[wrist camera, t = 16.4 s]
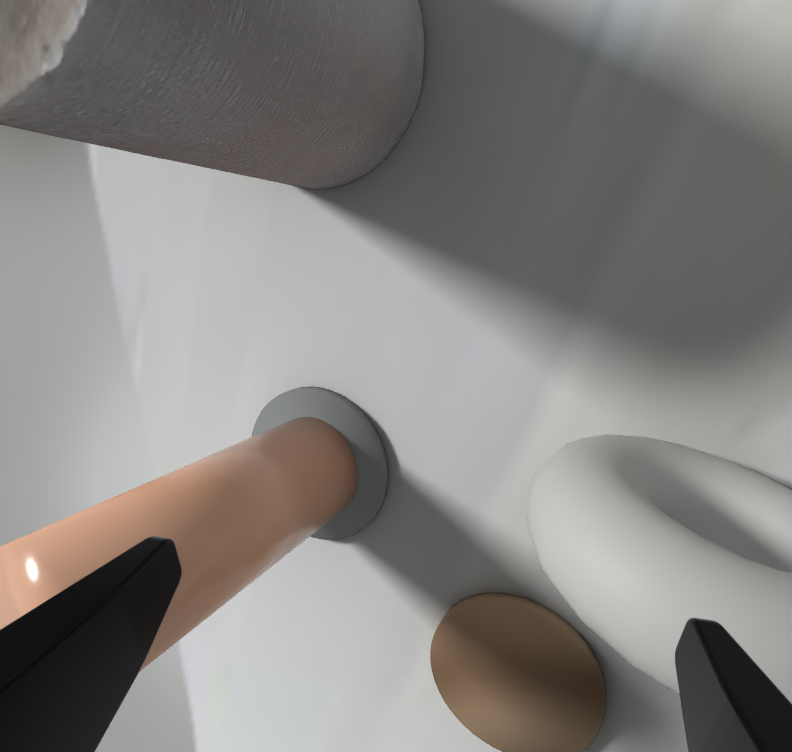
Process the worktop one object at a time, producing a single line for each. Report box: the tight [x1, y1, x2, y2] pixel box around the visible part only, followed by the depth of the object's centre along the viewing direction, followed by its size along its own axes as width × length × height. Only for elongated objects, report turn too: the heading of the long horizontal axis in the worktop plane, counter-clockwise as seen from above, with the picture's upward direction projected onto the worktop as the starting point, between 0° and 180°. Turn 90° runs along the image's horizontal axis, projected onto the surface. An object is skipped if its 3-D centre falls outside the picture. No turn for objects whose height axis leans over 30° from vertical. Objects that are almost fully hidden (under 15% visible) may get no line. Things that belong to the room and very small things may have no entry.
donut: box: [526, 435, 792, 703], centre depth 15 cm, size 10×4×10 cm, turn 72°
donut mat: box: [431, 593, 606, 752], centre depth 23 cm, size 8×8×1 cm
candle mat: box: [252, 387, 388, 540], centre depth 26 cm, size 8×8×1 cm
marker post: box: [0, 417, 358, 672], centre depth 20 cm, size 5×5×13 cm
